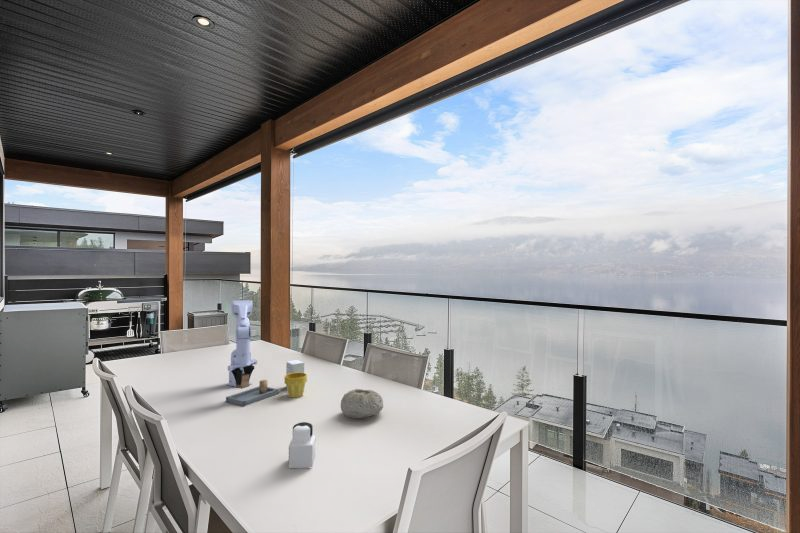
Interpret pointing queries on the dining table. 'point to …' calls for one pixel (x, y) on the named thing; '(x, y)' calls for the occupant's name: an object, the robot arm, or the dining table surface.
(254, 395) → the parts tray
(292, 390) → the plant pot
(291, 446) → the white boxy piece
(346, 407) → the round stone vase
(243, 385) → the walnut block
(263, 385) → the oak peg
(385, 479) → the dining table surface
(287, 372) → the small box
